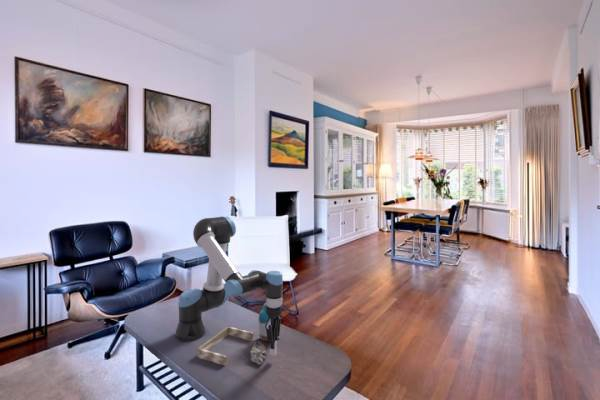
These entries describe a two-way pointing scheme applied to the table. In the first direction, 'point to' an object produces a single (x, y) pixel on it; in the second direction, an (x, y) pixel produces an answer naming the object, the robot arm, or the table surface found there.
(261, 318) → the vase
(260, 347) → the mineral rock
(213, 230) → the robot arm
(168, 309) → the table surface
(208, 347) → the u-shaped wooden frame
